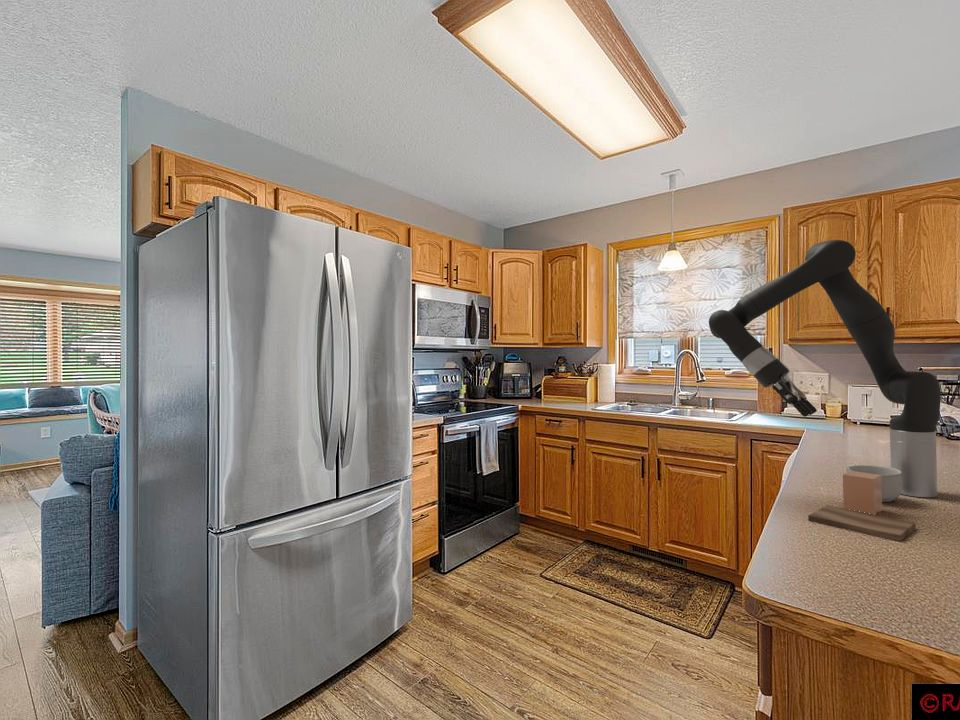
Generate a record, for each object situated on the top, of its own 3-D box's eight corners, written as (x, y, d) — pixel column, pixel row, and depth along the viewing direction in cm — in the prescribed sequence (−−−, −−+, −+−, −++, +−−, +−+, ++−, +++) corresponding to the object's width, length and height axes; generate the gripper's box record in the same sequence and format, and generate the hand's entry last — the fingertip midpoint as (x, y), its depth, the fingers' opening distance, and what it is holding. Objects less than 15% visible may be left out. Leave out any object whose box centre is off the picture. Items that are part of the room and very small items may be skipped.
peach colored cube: (851, 504, 118) (851, 470, 118) (882, 509, 113) (881, 475, 113) (843, 508, 114) (842, 474, 114) (874, 515, 110) (873, 479, 110)
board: (827, 510, 114) (827, 505, 114) (915, 528, 101) (915, 522, 101) (808, 520, 107) (808, 515, 107) (899, 541, 94) (899, 535, 94)
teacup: (913, 506, 116) (912, 474, 116) (863, 504, 118) (862, 472, 118) (877, 490, 129) (876, 462, 129) (833, 489, 131) (832, 461, 131)
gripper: (770, 357, 121) (820, 406, 114) (781, 358, 132) (828, 404, 124) (746, 375, 125) (793, 424, 118) (759, 375, 136) (803, 420, 128)
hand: (811, 413), depth 121 cm, fingers open, 8 cm apart
